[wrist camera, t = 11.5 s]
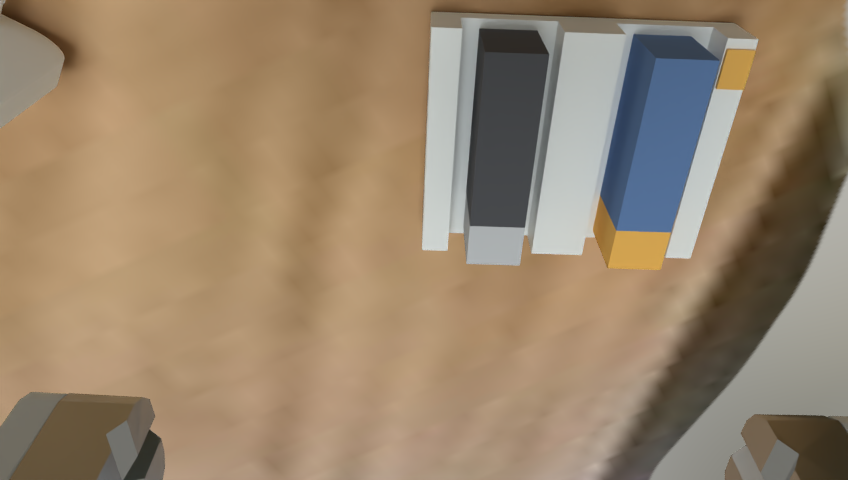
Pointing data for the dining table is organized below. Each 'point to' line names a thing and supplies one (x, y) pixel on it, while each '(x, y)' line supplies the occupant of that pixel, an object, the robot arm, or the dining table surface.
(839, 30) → the dining table surface
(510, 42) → the dark grey square rod
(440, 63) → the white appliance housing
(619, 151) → the blue bar yellow end
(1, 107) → the cable organizer
